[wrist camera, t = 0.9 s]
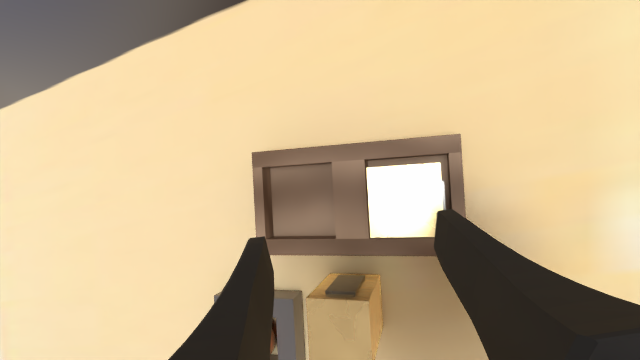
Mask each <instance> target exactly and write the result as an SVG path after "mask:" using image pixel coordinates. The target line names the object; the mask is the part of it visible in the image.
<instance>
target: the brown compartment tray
mask: <svg viewBox="0 0 640 360" xmlns="http://www.w3.org/2000/svg"><path fill="white" fill-rule="evenodd" d="M429 163H440V168H441V181H444V188H445V205H446V210H447V209H453V210H454V211H456V212H457V213H459V214H460V215H462V216H463V217H464V218H466V215H465V199H464V183H463V167H462V151H461V135H460V134H454V135H443V136H432V137H420V138H409V139H398V140H387V141H376V142H365V143H353V144H342V145H331V146H320V147H309V148H298V149H286V150H275V151H264V152H253V153H252V166H253V185H254V204H255V224H256V237H263V236H265V239H266V243H267V247H268V251H269V255H343V256H437V255H436V252H435V250H434V238H435V237H375V238H370V221H369V204H368V186H367V169H366V168H370V167H385V166H399V165H414V164H429Z"/></svg>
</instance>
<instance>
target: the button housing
mask: <svg viewBox="0 0 640 360" xmlns="http://www.w3.org/2000/svg"><path fill="white" fill-rule="evenodd" d="M220 294H221V292H220V293H218V294H216V295H214V303H215V302H216V300H217V299H218V297H219V295H220ZM273 318H276V325H277V344H278V355H270V360H305V342H304V323H303V305H302V291H285V290H274V307H273Z"/></svg>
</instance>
